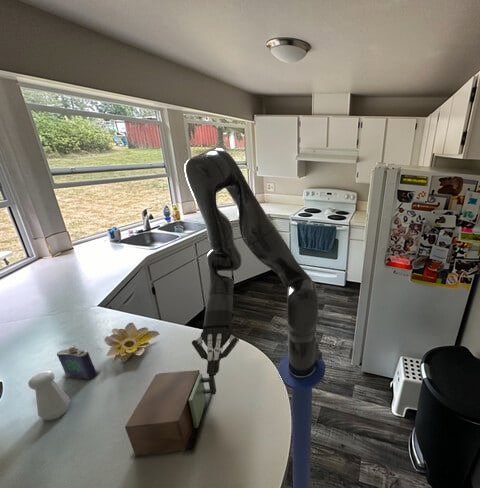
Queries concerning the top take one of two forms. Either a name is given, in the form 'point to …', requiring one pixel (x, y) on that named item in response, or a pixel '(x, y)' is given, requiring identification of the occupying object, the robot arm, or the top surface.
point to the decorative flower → (128, 341)
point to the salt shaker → (49, 396)
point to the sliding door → (200, 397)
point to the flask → (76, 363)
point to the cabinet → (165, 415)
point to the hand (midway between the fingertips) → (212, 375)
